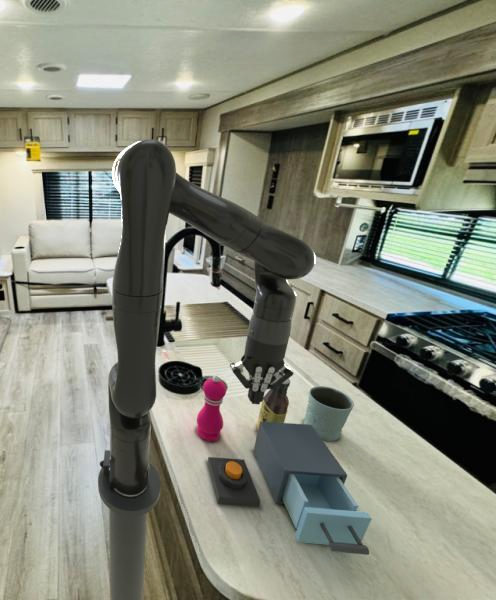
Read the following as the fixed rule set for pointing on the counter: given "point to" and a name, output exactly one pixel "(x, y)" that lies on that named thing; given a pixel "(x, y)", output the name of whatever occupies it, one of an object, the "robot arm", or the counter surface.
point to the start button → (233, 470)
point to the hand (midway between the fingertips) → (254, 401)
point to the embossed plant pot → (328, 411)
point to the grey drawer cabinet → (292, 454)
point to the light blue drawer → (325, 513)
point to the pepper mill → (211, 410)
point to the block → (232, 484)
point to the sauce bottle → (275, 405)
